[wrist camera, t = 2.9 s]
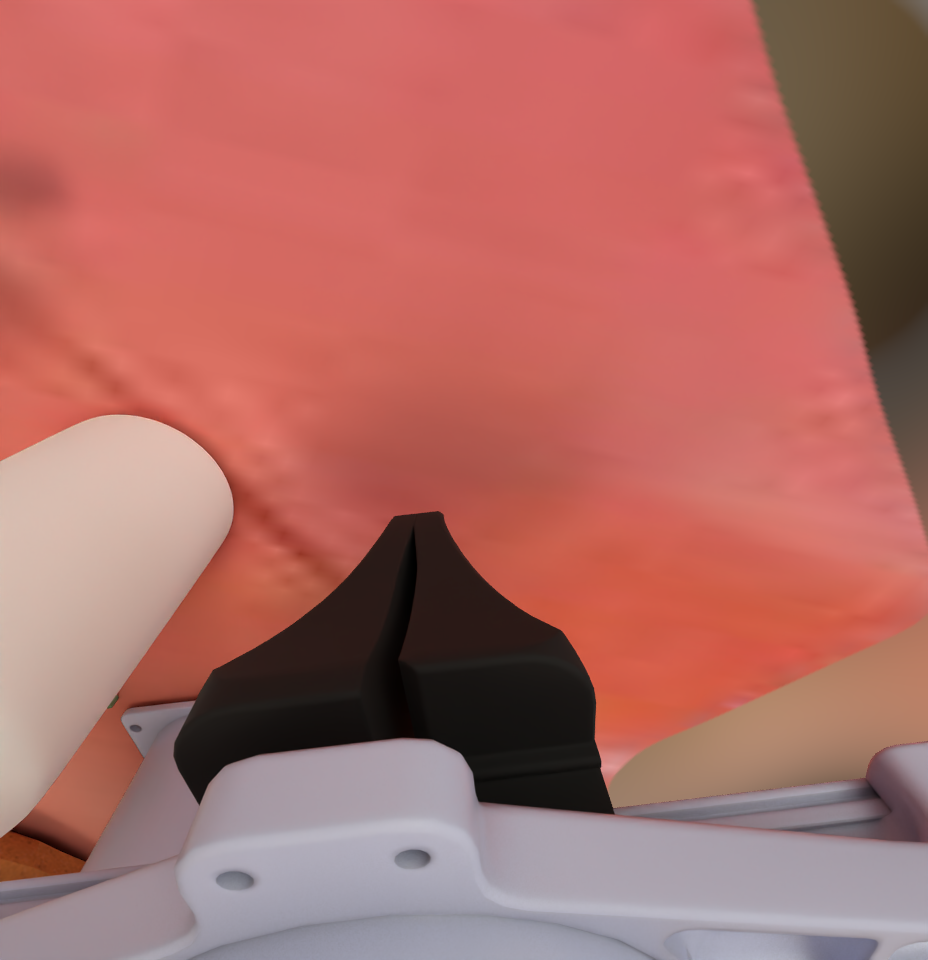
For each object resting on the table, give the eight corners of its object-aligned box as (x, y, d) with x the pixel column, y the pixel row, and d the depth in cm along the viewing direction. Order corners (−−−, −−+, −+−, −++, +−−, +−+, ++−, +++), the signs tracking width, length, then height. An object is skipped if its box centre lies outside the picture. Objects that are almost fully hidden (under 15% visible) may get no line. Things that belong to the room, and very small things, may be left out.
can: (41, 523, 18) (-503, 910, 8) (74, 377, 16) (-641, 638, 5) (210, 582, 20) (-42, 967, 9) (261, 458, 18) (5, 779, 7)
